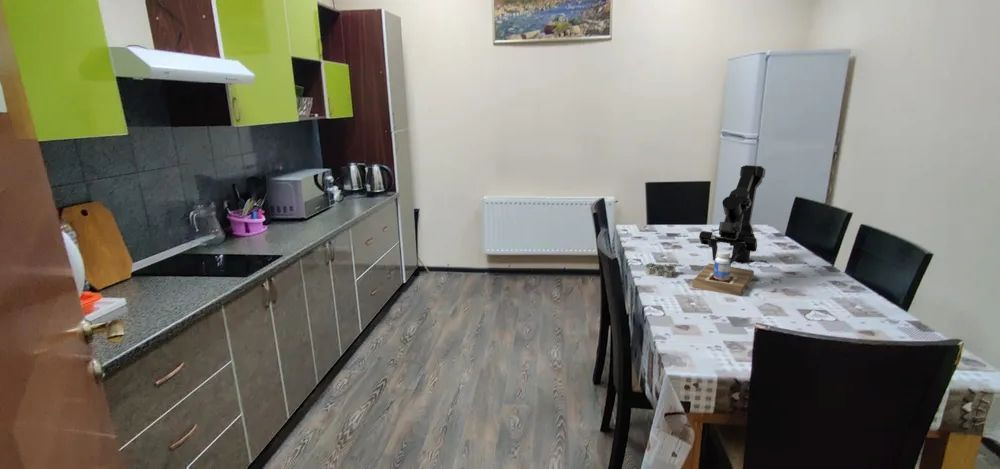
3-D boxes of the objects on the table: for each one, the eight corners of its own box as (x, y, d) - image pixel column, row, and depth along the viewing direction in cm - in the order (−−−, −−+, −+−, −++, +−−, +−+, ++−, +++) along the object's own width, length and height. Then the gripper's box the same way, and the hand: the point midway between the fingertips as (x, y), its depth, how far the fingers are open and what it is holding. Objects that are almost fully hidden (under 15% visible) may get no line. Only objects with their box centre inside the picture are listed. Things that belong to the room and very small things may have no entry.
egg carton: (677, 274, 193) (678, 264, 191) (668, 279, 187) (669, 269, 186) (651, 268, 200) (652, 258, 198) (642, 273, 194) (643, 263, 193)
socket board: (708, 269, 196) (709, 262, 195) (753, 276, 186) (754, 270, 186) (692, 287, 179) (692, 280, 178) (740, 296, 169) (741, 288, 169)
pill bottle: (713, 274, 182) (715, 249, 180) (729, 276, 180) (732, 250, 178) (713, 279, 178) (715, 253, 175) (729, 281, 175) (732, 255, 173)
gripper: (702, 209, 181) (691, 246, 175) (759, 215, 170) (749, 254, 165) (706, 225, 189) (696, 261, 184) (761, 231, 178) (751, 270, 173)
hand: (722, 261), depth 176 cm, fingers closed on pill bottle, 5 cm apart
